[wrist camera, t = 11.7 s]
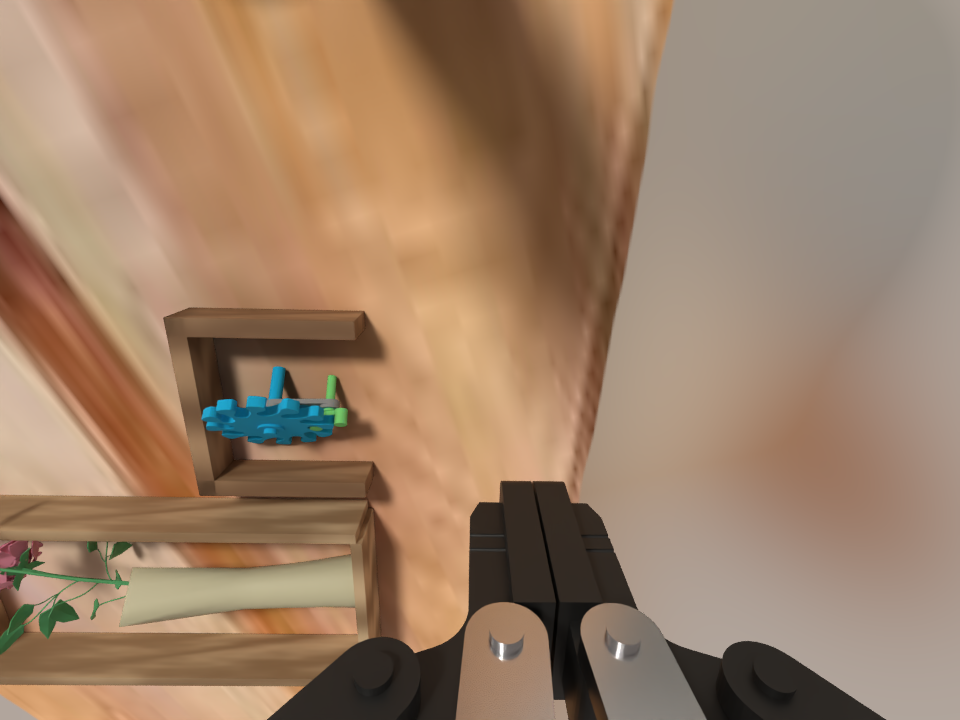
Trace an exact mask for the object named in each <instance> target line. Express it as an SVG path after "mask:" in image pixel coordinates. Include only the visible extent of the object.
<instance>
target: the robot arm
mask: <svg viewBox="0 0 960 720" xmlns="http://www.w3.org/2000/svg"><path fill="white" fill-rule="evenodd" d="M554 700H565V702H566V708H567V713H568V719H569V720H886V719H884V718H883V717H881V716H880V715H878V714H877V713H875V712H874V711H872V710H871V709H869V708H867V707H866V706H864V705H863V704H861V703H860V702H858V701H857V700H855V699H854V698H852V697H851V696H849V695H848V694H846V693H845V692H843V691H842V690H840V689H839V688H837V687H836V686H834V685H833V684H831V683H830V682H828V681H827V680H825V679H824V678H822V677H820V676H819V675H818V674H816V673H815V672H813V671H812V670H810V669H808V668H807V667H805V666H804V665H802V664H801V663H799V662H798V661H796V660H795V659H793V658H792V657H790V656H789V655H787V654H785V653H783V652H782V651H780V650H778V649H776V648H774V647H771V646H769V645H766V644H762V643H758V642H752V641H742V642H738V643H734V644H732V645H731V646H729V647H728V648H727V649H726V651H725V652H724V654H723V658H722V659H720V658H717V657H713V656H710V655H707V654H703V653H700V652H697V651H693V650H690V649H687V648H684V647H681V646H678V645H676V644H674V643H672V642H670V641H668V640H666V639H665V638H664V636H663V634H662V633H661V631H660V629H659V628H658V627H657V626H656V624H655V623H654V622H653V621H652V620H651V619H650V618H648V617H647V616H646V615H645V614H643V613H641V612H640V611H638V609H637V607H636V604H635V602H634V599H633V596H632V594H631V592H630V589H629V587H628V584H627V581H626V579H625V576H624V574H623V571H622V569H621V566H620V564H619V561H618V559H617V557H616V554H615V553H614V549H613V546H612V544H611V542H610V539H609V538H608V534H607V531H606V529H605V526H604V524H603V521H602V519H601V517H600V516H599V515H598V514H597V513H596V512H595V511H594V510H593V509H592V508H591V507H590V506H589V505H588V504H583V503H571V502H570V499H569V496H568V492H567V489H566V486H565V483H564V482H553V481H533V482H531V481H501V483H500V501H499V503H492V502H479V504H478V505H477V507H476V508H475V510H474V511H473V513H472V515H471V516H470V551H469V612H468V616H467V619H466V621H465V623H464V625H463V626H462V628H461V629H460V631H459V632H458V633H457V634H456V635H455V636H454V637H452V638H451V639H450V640H448V641H447V642H445V643H443V644H441V645H439V646H436V647H433V648H430V649H427V650H424V651H421V652H417V653H414V652H413V650H412V649H411V648H410V647H409V646H408V645H406V644H405V643H403V642H402V641H399V640H397V639H393V638H389V637H376V638H371V639H367V640H364V641H361V642H359V643H357V644H355V645H354V646H352V647H350V648H349V649H348V650H347V651H345V652H344V653H343V654H342V655H341V656H339V657H338V658H337V659H336V660H335V661H334V662H333V663H331V664H330V665H329V666H328V667H327V668H326V669H325V670H323V671H322V672H321V673H320V674H319V675H318V676H317V677H315V678H314V679H313V680H312V681H311V682H310V683H309V684H307V685H306V686H305V687H304V688H303V689H302V690H301V691H299V692H298V693H297V694H296V695H295V696H294V697H293V698H291V699H290V700H289V701H288V702H287V703H286V704H285V705H283V706H282V707H281V708H280V709H279V710H278V711H276V712H275V713H274V714H273V715H272V716H271V717H270V718H268V719H267V720H555V712H554Z"/></svg>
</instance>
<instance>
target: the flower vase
mask: <svg viewBox="0 0 960 720" xmlns="http://www.w3.org/2000/svg"><path fill="white" fill-rule="evenodd" d="M41 546H43V544H42V543H41V542H39V541H32V547H31V548H28V541H16V540H12V541H10V542H9V543H7V544H4V545H2V546H1V547H0V591H1V589H4V588H6V587H7V589H11V588H12V587H13V586H14V587H15V588H16V589H17V591H18V590H19V587H20V583H21V580H22V579H23V578H25V577H26V574H29V575H37V576H45V577H52V578H59V579H66V580H73V581H76V582H78V581H83V582H95V583H97V584H98V583H107V584H115V587H116V588H117V589H119V587H120V586H121V585H128V590H127V594H126V596H124V597H126V598H125V603H124V607H123V611H122V616H121V620H120V625H119V627H123V626H130V625H138V624H145V623H152V622H159V621H166V620H173V619H180V618H187V617H194V616H201V615H207V614H214V613H221V612H228V611H235V610H242V609H265V608H303V607H353V608H355V596H354V584H353V572H352V560H351V554H349V555H343V556H337V557H331V558H325V559H319V560H312V561H306V562H298V563H290V564H280V565H271V566H261V567H252V568H132V572H131V577H130V581H122V580H121V578H120V575H119V574H118V573H117V572H118V571H117V570H116V580H112V579H111V578H110V576H109V573H108V570H107V557H108V556H107V548H108V541H107V547H106V558H105V561H104V560H103V558H102V556H101V558H102V560H103V561H104V562H105V564H106V571H107V574H108V576H109V578H110V580H105V579H94V578H82V577H73V576H66V575H58V574H51V573H46V572H42V571H37V570H33V568H34V567H37V566H39V565H41V564H43V563H45V562H39V561H36V560H37V557H38V556H39V555H41V553H42V552H38V551H39V547H41ZM131 546H132V544H130V543H128V542H117V543H116V544H114V546H113V549H112V553H111V555H109V556H110V559H112V558H114V557H116V556H118V555H120V554H122V553H123V552H124V551H126V550H127V549H128V548H130V547H131ZM87 549H88V551H89V552H92V551H94V550H98V549H97V541H88V543H87ZM98 551H99V550H98ZM99 552H100V551H99ZM32 555H33V557H34V559H33V561H32V562H31V559H32ZM100 555H101V553H100ZM110 559H109V560H110ZM30 562H31V563H30ZM11 580H14V581H11ZM76 582H74V583H76ZM74 583H72V584H74ZM72 584H70V585H69V586H71V585H72ZM97 584H96V585H97ZM96 585H95V586H96ZM69 586H67V587H69ZM95 586H93V587H92V588H94V587H95ZM67 587H66V588H67ZM66 588H64V589H63V590H65V589H66ZM92 588H91V589H92ZM91 589H90V590H91ZM63 590H62V591H63ZM90 590H89V591H90ZM62 591H60V592H59V593H58V594H56V596H55V595H54V596H55V597H56V598H57V596H58V595H59V594H60V593H61V592H62ZM89 591H87V592H89ZM87 592H86V593H87ZM86 593H84V594H86ZM84 594H82V595H84ZM82 595H80V596H82ZM54 596H52V597H54ZM80 596H78V597H80ZM52 597H51V598H52ZM55 597H54V598H55ZM78 597H76V598H78ZM124 597H121V598H124ZM54 598H53V599H54ZM56 598H55V600H56ZM121 598H118V599H121ZM49 599H50V598H49ZM49 599H47V600H49ZM53 599H52V600H53ZM73 599H75V598H73ZM73 599H70V600H73ZM47 600H46V601H47ZM52 600H51V601H52ZM55 600H54V603H53V606H52V608H50V609H48V610H47V611H45V612H43V613H41V612H42V610H43V609H44V608H45V607H46V606H47V605H48V604H49V603H50V602H51V601H50V602H49V603H48V604H47V605H46V606H45V607H44V608H43V609H42V610H41V611H40V612H39V613H38V614H37V615H36V616H35V617H34V618H33V619H32V620H34V619H35V618H36V617H37V616H38V615H39V614H40V613H41V614H40V617H39V626H40V631H41V632H42V633H43V634H44V635H45V637H46V638H47V639H49V636H50V634H51V632H52V630H53V628H54V626H55V624H56V621H59V622H68V621H73V620H77V619H79V617H78V615H77V613H76V612H75V610H74V608H73V607H71V606H70V605H68V604H67V603H66V602H67V601H70V600H67V601H62V600H61V599H60V600H59V601H58V602H57V603H56V604H55ZM114 600H117V599H114ZM114 600H110V601H114ZM46 601H44V602H46ZM110 601H107V602H110ZM44 602H42V603H44ZM107 602H105V603H107ZM42 603H40V604H42ZM54 604H55V605H54ZM102 604H104V603H102ZM102 604H100V605H102ZM36 605H39V604H36ZM34 606H35V605H30V604H24V605H23V606H22V607H21V608H20V609H18V610H17V612H16V613H15V615H14V616H13V618H12V619H11V621H10V625H9V628H8V629H7V630H6V631H5V632H4V633H3V635H2V636H1V637H0V655H1V654H2V653H4V652H5V651H6V650H7V649H8V648H9V647H10V646H11V645H12V644H13V643H14V642H15V641H16V640H17V639H18V638H19V637H20V636H21V635H22V634H23V633H24V626H25V625H27V624H29V623H30V622H31V621H32V620H31V621H30V622H28V623H26V624H25V625H24V624H23V625H21V624H22V623H23V622H24V621H25V620H26V619H27V618H28V617H29V616H30V615H31V614H32V612H33V608H34ZM98 607H99V603H98V600H97V599H96V600H95V601H94V610H93V613H92V616H91V620H93V619H94V618H95V617H96V613H95V612H96V610H97V609H98Z"/></svg>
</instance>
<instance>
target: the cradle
mask: <svg viewBox="0 0 960 720" xmlns="http://www.w3.org/2000/svg"><path fill="white" fill-rule="evenodd" d="M163 319H164V324H165V329H166V334H167V338H168V343H169V348H170V353H171V358H172V363H173V368H174V373H175V377H176V382H177V387H178V392H179V397H180V402H181V407H182V412H183V416H184V421H185V426H186V431H187V436H188V441H189V446H190V451H191V455H192V460H193V465H194V470H195V475H196V480H197V485H198V490H199V494H200V496H273V497H352V498H366V496H367V493H368V490H369V488H370V485H371V482H372V479H373V476H374V469H373V462H363V461H291V460H234V457H233V451H232V445H231V440H230V439H229V438H226V437H224V436H222V431H209V430H207V429H206V425H207V422H206V421H203V420H201V419H202V414H203V410H204V409H205V408H207V407H211V406H212V407H217V402H218V400H224V399H223V393H222V387H221V381H220V375H219V370H218V364H217V358H216V352H215V346H214V341H213V338H266V339H319V340H356V339H357V337H358V336H359V335H360V334H361V333H362V332H363V330H364V329H365V317H364V311H332V310H282V309H233V308H188V309H185V310H182V311H180V312H177V313H174V314H172V315H169V316H167V317H164V318H163Z"/></svg>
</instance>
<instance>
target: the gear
mask: <svg viewBox="0 0 960 720" xmlns="http://www.w3.org/2000/svg"><path fill="white" fill-rule="evenodd" d="M285 371H286V369H285V368H283V367H274V368H273V372H272V379H271V385H270V392H269V399H267V398H265V397H259V396H248V399H247V405H246V408H240V407H237V401H236V400H233V399H224V400H218V402H217V407H212V406H211V407H207V408H205V409H204V410H203V414H202V419H201V420H203V421H206V422H207V425H206V429H207V430H209V431H222V436H224V437H226V438H229V439H235V438H238V437H243V436H248V440H247V441H248V442H252V443H258V444H260V443H263V442H264V441H265V440H266V439H270V438H277V439H276V443H277V444H291V443H292V437H293V436H300V437H301V441H302V442H314V441H316V437H317V436H320V437H327V436H330V435H332V430H333V427H334V425H335V426H338V427H344V426H347V416H348V409H346V408H340V401H338V400H335V392H336V379H337V377H336V376H334V375H329V376H328V382H327V393H326V399H289V398H285V399H282V394H283V386H284V379H285Z"/></svg>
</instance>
